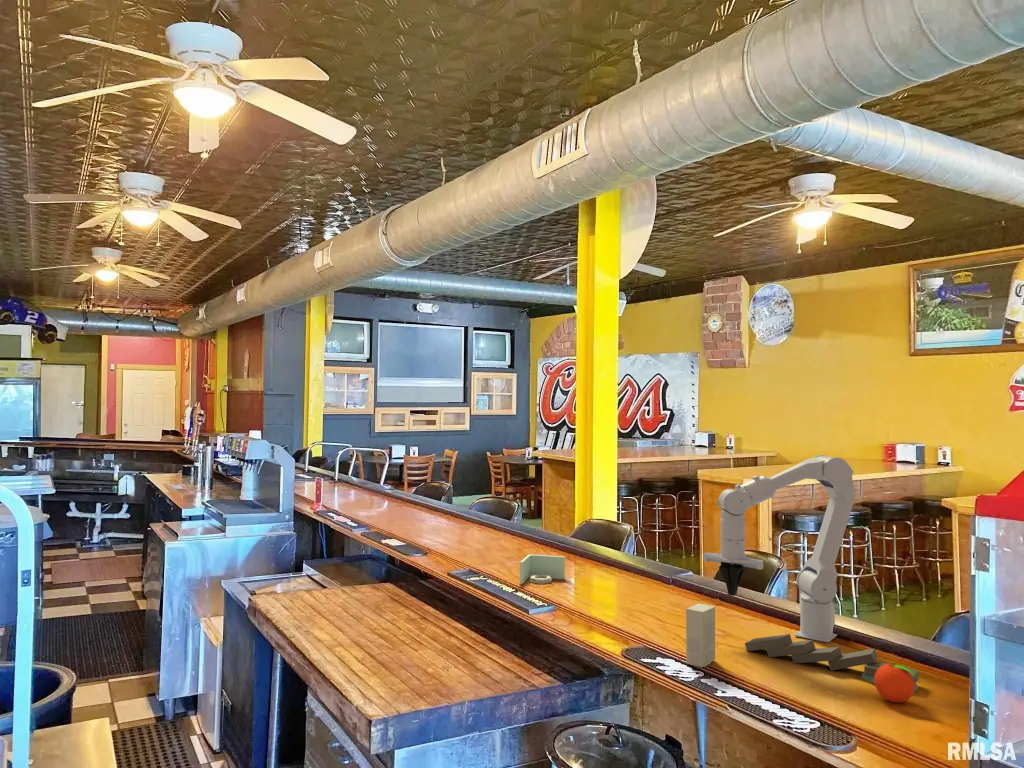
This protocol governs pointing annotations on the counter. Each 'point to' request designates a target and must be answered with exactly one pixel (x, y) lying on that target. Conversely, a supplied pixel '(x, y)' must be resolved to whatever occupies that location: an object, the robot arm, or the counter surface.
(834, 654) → the domino
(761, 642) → the domino
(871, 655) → the domino
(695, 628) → the skincare box
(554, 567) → the l-shaped corner panel
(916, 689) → the domino
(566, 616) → the counter surface
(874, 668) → the domino
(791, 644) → the domino
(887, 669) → the clementine
